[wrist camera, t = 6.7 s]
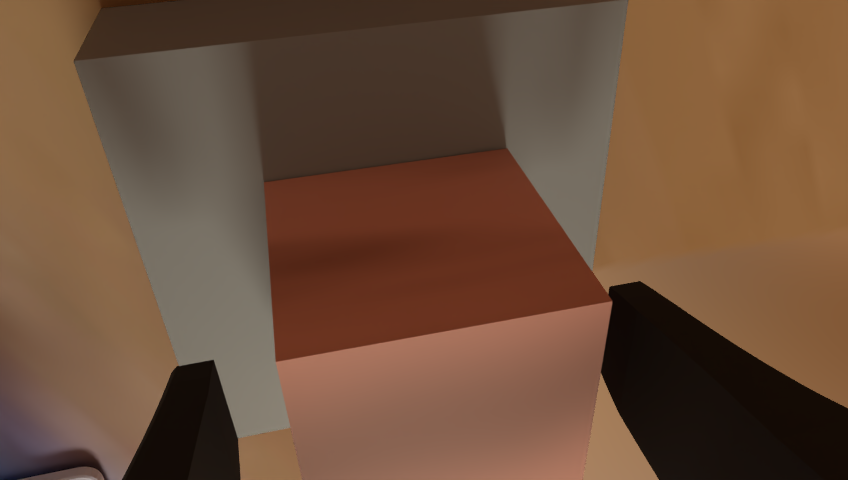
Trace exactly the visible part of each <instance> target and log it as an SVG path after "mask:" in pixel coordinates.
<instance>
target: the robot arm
mask: <svg viewBox="0 0 848 480" xmlns="http://www.w3.org/2000/svg"><path fill="white" fill-rule="evenodd" d="M608 295H609V297H610V298H611V300H612V301H613V302H612V308H611V314H610V320H609V326H608V332H607V338H606V344H605V350H604V356H603V362H602V368H601V374H602V376H603V378H604V381H605V383H606V385H607V388H608V390H609V392H610V395H611V397H612V399H613V401H614V403H615V406H616V408H617V410H618V412H619V414H620V416H621V417H622V419H623V421H624V423H625V424H626V426H627V428H628V429H629V431H630V433H631V434H632V436H633V438H634V439H635V441H636V443H637V444H638V446H639V448H640V449H641V451H642V452H643V454H644V456H645V457H646V459H647V461H648V462H649V464H650V466H651V467H652V469H653V471H654V472H655V474H656V475H657V477H658V479H659V480H848V408H846V407H844V406H842V405H840V404H838V403H836V402H834V401H832V400H830V399H828V398H826V397H824V396H822V395H820V394H818V393H816V392H815V391H813V390H811V389H809V388H807V387H805V386H804V385H802V384H800V383H798V382H796V381H795V380H793V379H791V378H790V377H788V376H786V375H784V374H783V373H781V372H779V371H777V370H776V369H774V368H772V367H771V366H769V365H767V364H766V363H764V362H762V361H761V360H759V359H757V358H756V357H754V356H753V355H751V354H749V353H748V352H746V351H745V350H743V349H741V348H740V347H738V346H737V345H735V344H733V343H732V342H730V341H729V340H727V339H726V338H724V337H723V336H721V335H720V334H718V333H717V332H715V331H714V330H712V329H710V328H709V327H708V326H706V325H705V324H703V323H702V322H700V321H699V320H697V319H696V318H694V317H693V316H691V315H690V314H688V313H687V312H685V311H684V310H682V309H681V308H680V307H678V306H677V305H675V304H674V303H672V302H671V301H669V300H668V299H666V298H665V297H663V296H662V295H660V294H659V293H657V292H656V291H654V290H653V289H651V288H650V287H648V286H647V285H645V284H644V283H642V282H640V281H638V282H633V283H627V284H622V285H616V286H611V287H610V288H609V294H608ZM18 480H104V478H103V476H102V474H101V473H100V472H99V471H98V470H97V469H95V468H92V467H77V468H72V469H67V470H62V471H57V472H53V473H48V474H43V475H38V476H33V477H28V478H23V479H18ZM122 480H240V464H239V449H238V437H237V434H236V431H235V427H234V424H233V421H232V417H231V414H230V411H229V408H228V404H227V401H226V398H225V395H224V391H223V388H222V385H221V382H220V378H219V375H218V372H217V369H216V365H215V362H214V360H209V361H203V362H198V363H193V364H187V365H182V366H177V367H176V368H175V369H174V370H173V372H172V373H171V376H170V378H169V381H168V383H167V386H166V388H165V391H164V393H163V395H162V398H161V400H160V402H159V405H158V407H157V409H156V412H155V414H154V416H153V418H152V420H151V423H150V425H149V427H148V429H147V431H146V433H145V435H144V438H143V440H142V442H141V444H140V445H139V447H138V449H137V451H136V453H135V455H134V457H133V459H132V461H131V463H130V465H129V467H128V469H127V471H126V473H125V475H124V477H123V479H122Z"/></svg>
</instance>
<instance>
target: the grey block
mask: <svg viewBox="0 0 848 480" xmlns="http://www.w3.org/2000/svg"><path fill="white" fill-rule="evenodd" d="M627 6H628V0H179V1H169V2H159V3H149V4H139V5H129V6H119V7H109V8H101V10H100V12H99V14H98V16H97V18H96V19H95V21H94V23H93V25H92V27H91V29H90V31H89V33H88V35H87V37H86V38H85V40H84V42H83V44H82V46H81V48H80V50H79V52H78V54H77V55H76V57H75V59H74V64H75V67H76V70H77V73H78V75H79V78H80V81H81V84H82V87H83V90H84V93H85V96H86V99H87V101H88V104H89V107H90V110H91V113H92V116H93V119H94V122H95V125H96V127H97V130H98V133H99V136H100V139H101V142H102V145H103V148H104V151H105V153H106V156H107V159H108V162H109V165H110V168H111V171H112V174H113V177H114V179H115V182H116V185H117V188H118V191H119V194H120V197H121V200H122V203H123V205H124V208H125V211H126V214H127V217H128V220H129V223H130V226H131V229H132V231H133V234H134V237H135V240H136V243H137V246H138V249H139V252H140V255H141V257H142V260H143V263H144V266H145V269H146V272H147V275H148V278H149V281H150V283H151V286H152V289H153V292H154V295H155V298H156V301H157V304H158V307H159V309H160V312H161V315H162V318H163V321H164V324H165V327H166V330H167V333H168V335H169V338H170V341H171V344H172V347H173V350H174V353H175V356H176V359H177V361H178V364H179V366H182V365H187V364H193V363H198V362H203V361H209V360H214V362H215V365H216V369H217V372H218V375H219V378H220V382H221V385H222V388H223V391H224V395H225V398H226V401H227V404H228V408H229V411H230V414H231V417H232V421H233V424H234V427H235V431H236V434H237V437H238V438H241V437H246V436H251V435H256V434H261V433H266V432H271V431H276V430H281V429H286V428H290V423H289V419H288V415H287V410H286V406H285V401H284V397H283V392H282V388H281V384H280V379H279V375H278V370H277V366H276V360H275V345H274V329H273V314H272V299H271V284H270V268H269V253H268V238H267V223H266V207H265V192H264V182H270V181H277V180H284V179H291V178H298V177H305V176H313V175H320V174H327V173H334V172H341V171H349V170H356V169H363V168H370V167H377V166H384V165H392V164H399V163H406V162H413V161H420V160H427V159H435V158H442V157H449V156H456V155H463V154H470V153H478V152H485V151H492V150H499V149H506V148H508V150H509V151H510V153H511V154H512V156H513V157H514V159H515V160H516V162H517V163H518V164H519V166H520V167H521V169H522V170H523V172H524V173H525V175H526V176H527V178H528V179H529V180H530V182H531V183H532V185H533V186H534V188H535V189H536V191H537V192H538V193H539V195H540V196H541V198H542V199H543V201H544V202H545V204H546V205H547V207H548V208H549V209H550V211H551V212H552V214H553V215H554V217H555V218H556V220H557V221H558V223H559V224H560V225H561V227H562V228H563V230H564V231H565V233H566V234H567V236H568V237H569V239H570V240H571V241H572V243H573V244H574V246H575V247H576V249H577V250H578V252H579V253H580V255H581V256H582V257H583V259H584V260H585V262H586V263H587V265H588V266H589V268H590V269H591V271H592V269H593V262H594V254H595V247H596V239H597V231H598V224H599V216H600V209H601V201H602V194H603V186H604V179H605V171H606V164H607V156H608V149H609V141H610V134H611V126H612V118H613V111H614V103H615V96H616V88H617V81H618V73H619V66H620V58H621V51H622V43H623V36H624V28H625V21H626V13H627Z"/></svg>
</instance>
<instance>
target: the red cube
mask: <svg viewBox="0 0 848 480" xmlns="http://www.w3.org/2000/svg"><path fill="white" fill-rule="evenodd" d="M264 192H265V207H266V223H267V238H268V253H269V268H270V284H271V299H272V314H273V329H274V345H275V360H276V366H277V370H278V375H279V379H280V384H281V388H282V392H283V397H284V401H285V406H286V410H287V415H288V419H289V423H290V428H291V432H292V437H293V441H294V445H295V450H296V454H297V459H298V463H299V468H300V472H301V476H302V480H583V476H584V469H585V464H586V457H587V451H588V446H589V440H590V434H591V428H592V421H593V416H594V410H595V403H596V397H597V392H598V385H599V380H600V374H601V368H602V362H603V356H604V350H605V344H606V338H607V332H608V326H609V320H610V314H611V308H612V302H613V301H612V300H611V298H610V297H609V295H608V294H607V292H606V291H605V289H604V288H603V287H602V285H601V284H600V282H599V281H598V279H597V278H596V277H595V275H594V273H593V272H592V271H591V269H590V268H589V266H588V265H587V263H586V262H585V260H584V259H583V257H582V256H581V255H580V253H579V252H578V250H577V249H576V247H575V246H574V244H573V243H572V241H571V240H570V239H569V237H568V236H567V234H566V233H565V231H564V230H563V228H562V227H561V225H560V224H559V223H558V221H557V220H556V218H555V217H554V215H553V214H552V212H551V211H550V209H549V208H548V207H547V205H546V204H545V202H544V201H543V199H542V198H541V196H540V195H539V193H538V192H537V191H536V189H535V188H534V186H533V185H532V183H531V182H530V180H529V179H528V178H527V176H526V175H525V173H524V172H523V170H522V169H521V167H520V166H519V164H518V163H517V162H516V160H515V159H514V157H513V156H512V154H511V153H510V151H509V150H508V148H506V149H499V150H492V151H485V152H478V153H470V154H463V155H456V156H449V157H442V158H435V159H427V160H420V161H413V162H406V163H399V164H392V165H384V166H377V167H370V168H363V169H356V170H349V171H341V172H334V173H327V174H320V175H313V176H305V177H298V178H291V179H284V180H277V181H270V182H264Z"/></svg>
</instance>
